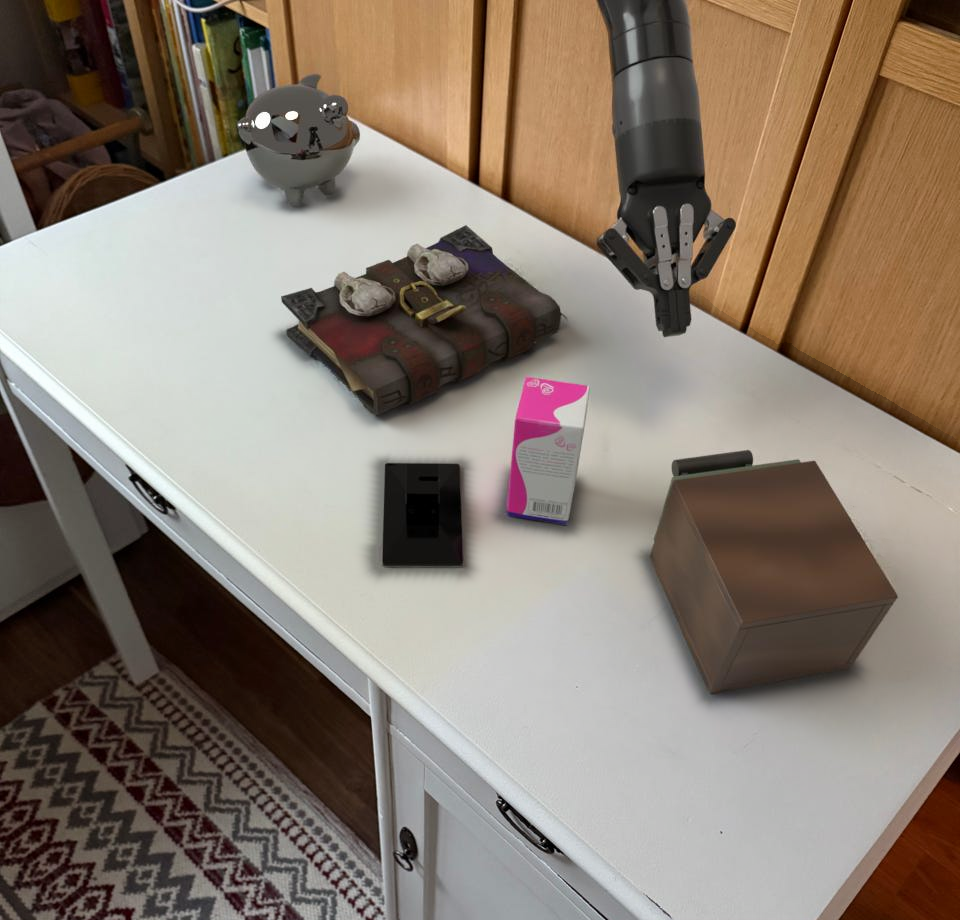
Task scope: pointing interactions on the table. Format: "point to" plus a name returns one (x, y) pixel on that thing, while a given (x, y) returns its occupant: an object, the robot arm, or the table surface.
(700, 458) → the drawer
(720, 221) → the robot arm
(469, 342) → the book
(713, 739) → the table surface
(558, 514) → the supplement box
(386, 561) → the black plastic holder
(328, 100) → the piggy bank
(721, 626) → the cabinet
